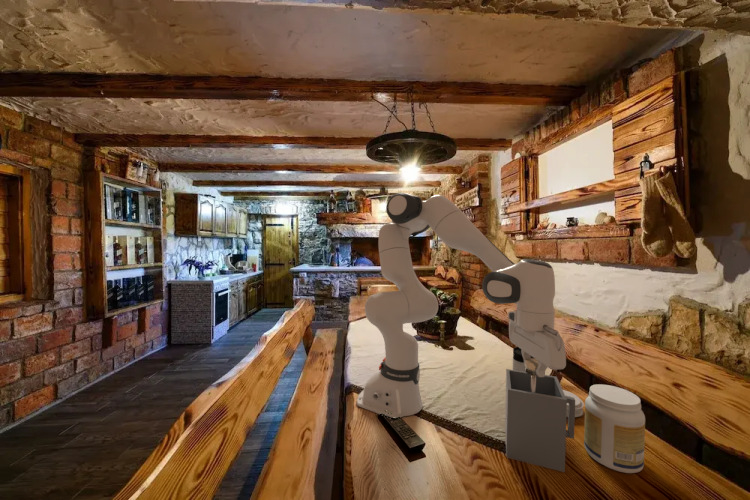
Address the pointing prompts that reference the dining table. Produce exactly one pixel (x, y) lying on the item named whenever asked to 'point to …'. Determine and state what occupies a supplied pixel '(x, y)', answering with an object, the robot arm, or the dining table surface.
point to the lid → (578, 404)
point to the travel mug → (518, 360)
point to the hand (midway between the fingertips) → (533, 371)
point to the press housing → (537, 420)
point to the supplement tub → (615, 428)
